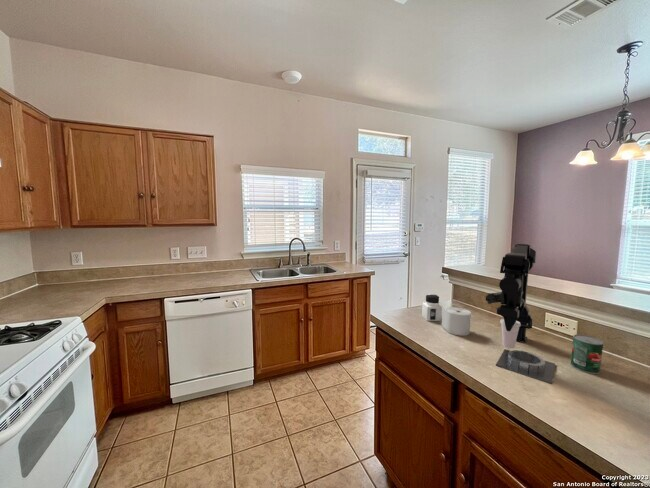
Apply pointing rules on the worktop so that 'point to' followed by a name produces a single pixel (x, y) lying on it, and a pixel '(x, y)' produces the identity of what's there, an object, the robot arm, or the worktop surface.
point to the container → (432, 308)
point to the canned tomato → (586, 354)
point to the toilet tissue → (456, 321)
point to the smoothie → (509, 334)
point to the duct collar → (527, 365)
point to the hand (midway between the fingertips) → (510, 328)
